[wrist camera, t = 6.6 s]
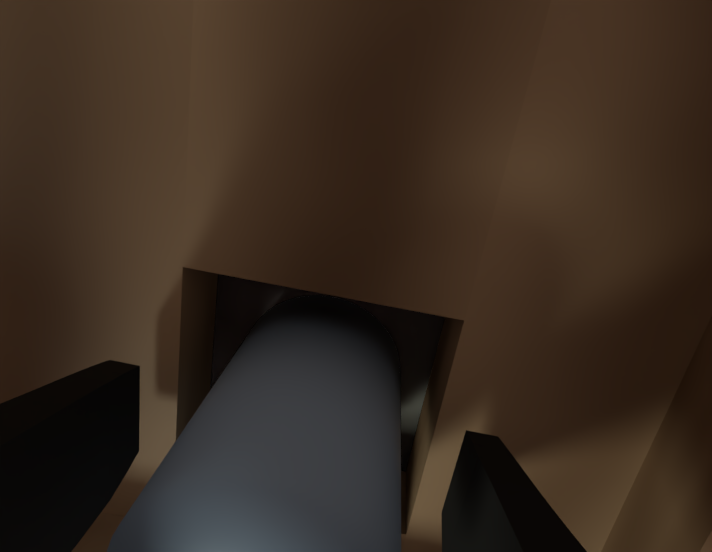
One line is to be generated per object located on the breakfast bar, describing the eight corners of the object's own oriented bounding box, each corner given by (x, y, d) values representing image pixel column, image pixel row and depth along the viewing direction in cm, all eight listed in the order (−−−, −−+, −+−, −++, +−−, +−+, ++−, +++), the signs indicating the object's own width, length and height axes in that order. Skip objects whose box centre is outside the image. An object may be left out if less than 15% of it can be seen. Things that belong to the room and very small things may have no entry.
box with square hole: (-37, 445, 14) (-200, 570, 10) (-147, -275, 8) (-590, -587, 5) (573, 571, 13) (640, 752, 10) (882, -115, 8) (1326, -322, 4)
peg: (241, 423, 13) (115, 673, 7) (245, 285, 11) (92, 457, 6) (389, 444, 12) (381, 719, 7) (410, 307, 11) (422, 507, 6)
